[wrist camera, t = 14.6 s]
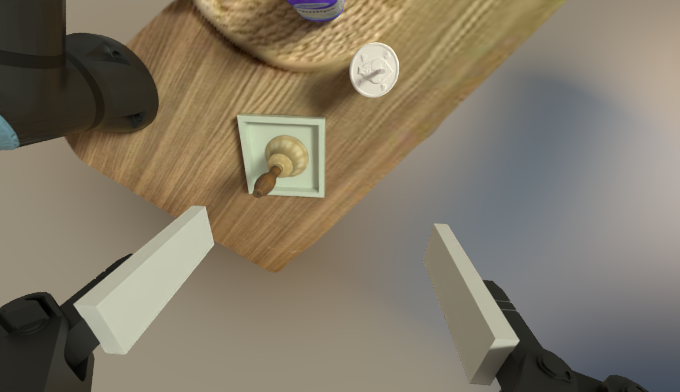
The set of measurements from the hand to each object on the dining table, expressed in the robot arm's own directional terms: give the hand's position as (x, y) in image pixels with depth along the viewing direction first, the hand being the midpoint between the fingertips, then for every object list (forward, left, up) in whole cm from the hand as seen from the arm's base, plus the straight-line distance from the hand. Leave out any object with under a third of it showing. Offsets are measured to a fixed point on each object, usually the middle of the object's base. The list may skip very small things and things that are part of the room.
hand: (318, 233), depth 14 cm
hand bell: (-10, -6, -33) cm, 35 cm away
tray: (-10, -6, -33) cm, 35 cm away
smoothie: (+4, +9, -33) cm, 35 cm away
